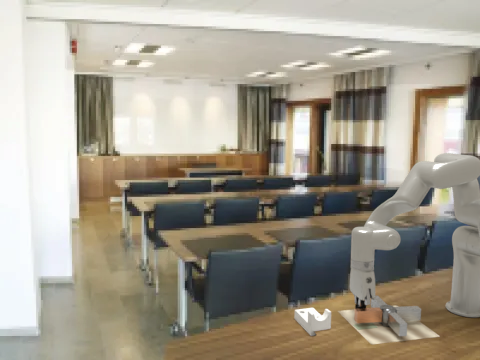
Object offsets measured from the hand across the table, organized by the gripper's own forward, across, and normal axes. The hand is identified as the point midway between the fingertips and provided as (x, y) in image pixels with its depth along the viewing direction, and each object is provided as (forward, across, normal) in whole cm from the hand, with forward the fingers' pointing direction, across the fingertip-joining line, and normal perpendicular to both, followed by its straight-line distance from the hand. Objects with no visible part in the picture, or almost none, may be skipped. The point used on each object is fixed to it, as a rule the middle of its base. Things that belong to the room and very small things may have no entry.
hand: (360, 315), depth 146 cm
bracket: (+4, +3, +16) cm, 17 cm away
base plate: (+3, -3, -8) cm, 9 cm away
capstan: (+2, -4, -8) cm, 9 cm away
